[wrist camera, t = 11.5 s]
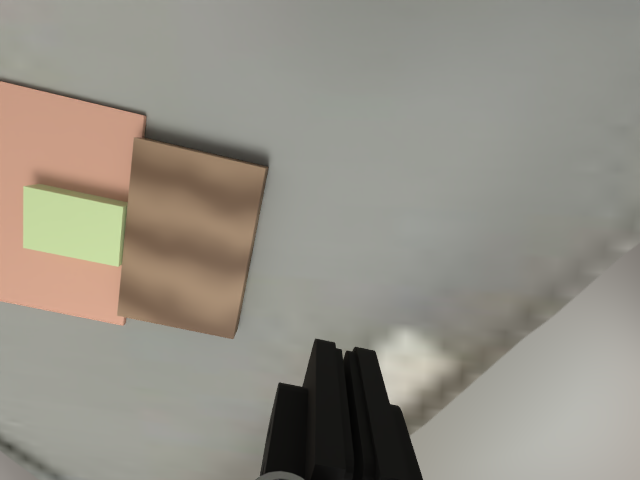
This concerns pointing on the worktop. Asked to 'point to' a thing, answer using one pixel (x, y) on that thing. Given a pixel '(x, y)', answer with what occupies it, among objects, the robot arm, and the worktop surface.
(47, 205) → the sponge
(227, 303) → the plate
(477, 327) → the worktop surface
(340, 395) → the robot arm
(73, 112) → the mat
